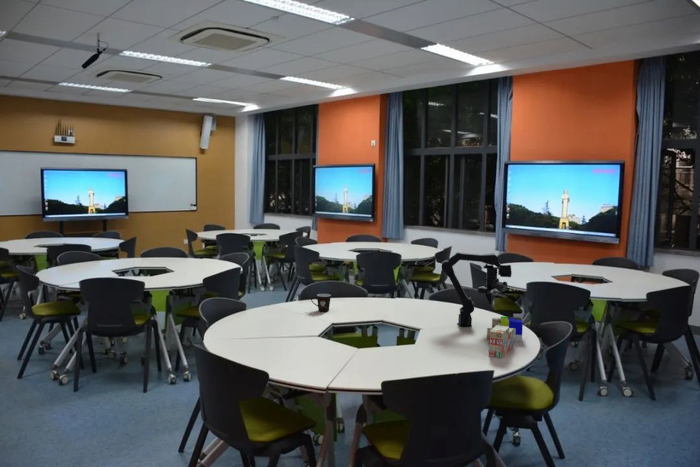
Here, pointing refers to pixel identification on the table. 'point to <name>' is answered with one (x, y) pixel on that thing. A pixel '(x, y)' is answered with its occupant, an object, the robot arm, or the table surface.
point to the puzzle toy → (513, 326)
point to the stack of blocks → (500, 341)
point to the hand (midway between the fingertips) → (490, 304)
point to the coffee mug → (323, 302)
